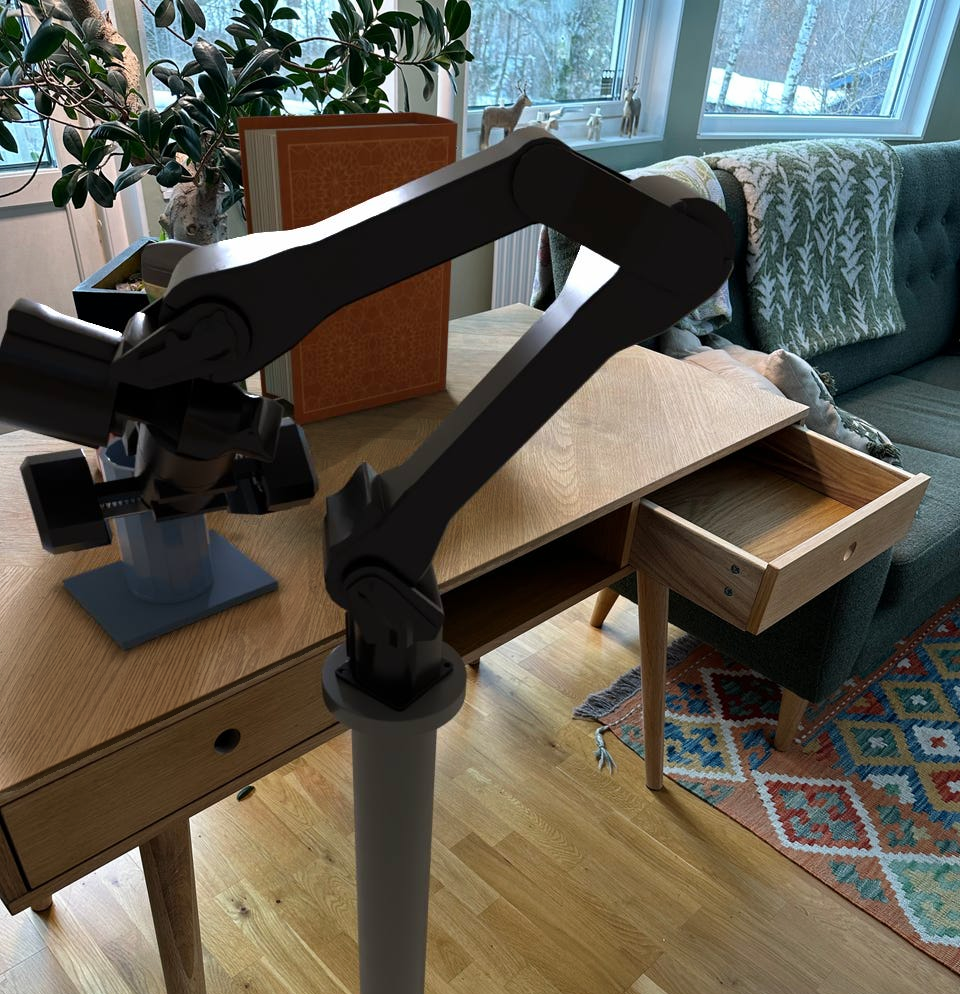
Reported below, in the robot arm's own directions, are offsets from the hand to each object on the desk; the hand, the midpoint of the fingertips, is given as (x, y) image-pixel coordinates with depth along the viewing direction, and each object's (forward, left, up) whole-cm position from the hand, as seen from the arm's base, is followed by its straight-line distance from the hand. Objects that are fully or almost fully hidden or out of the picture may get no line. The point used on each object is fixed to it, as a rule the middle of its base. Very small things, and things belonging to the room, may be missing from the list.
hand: (168, 517), depth 68 cm
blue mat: (+3, -1, -8) cm, 9 cm away
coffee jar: (+29, -27, -9) cm, 40 cm away
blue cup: (+3, -1, -8) cm, 8 cm away
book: (+20, -44, -9) cm, 49 cm away
